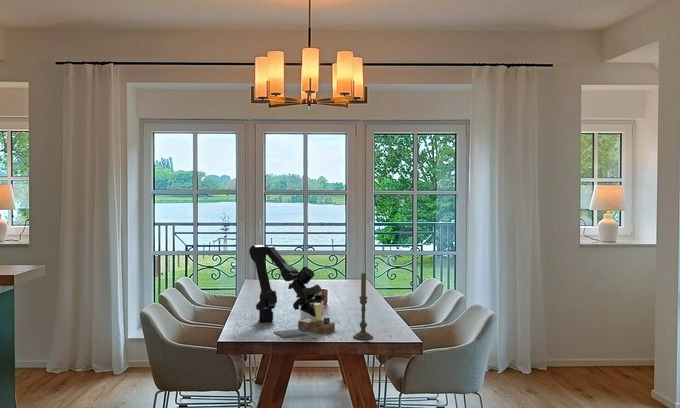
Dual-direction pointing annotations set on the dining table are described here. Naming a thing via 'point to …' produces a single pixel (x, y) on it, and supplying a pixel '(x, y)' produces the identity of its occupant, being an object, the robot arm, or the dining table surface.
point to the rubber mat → (290, 333)
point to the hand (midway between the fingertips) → (318, 315)
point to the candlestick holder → (363, 312)
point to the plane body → (317, 325)
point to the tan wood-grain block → (316, 312)
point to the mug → (305, 315)
